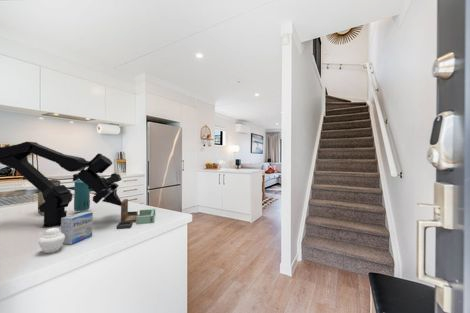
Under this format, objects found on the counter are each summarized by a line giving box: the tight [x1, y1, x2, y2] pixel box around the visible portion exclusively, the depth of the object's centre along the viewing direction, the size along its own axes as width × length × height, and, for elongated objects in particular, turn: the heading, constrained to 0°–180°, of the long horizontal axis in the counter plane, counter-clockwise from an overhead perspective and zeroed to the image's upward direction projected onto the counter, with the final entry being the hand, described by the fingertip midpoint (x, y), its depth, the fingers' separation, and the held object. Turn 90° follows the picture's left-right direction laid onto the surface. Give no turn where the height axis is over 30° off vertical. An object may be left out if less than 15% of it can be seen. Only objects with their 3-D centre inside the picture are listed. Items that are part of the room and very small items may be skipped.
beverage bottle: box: [73, 179, 91, 212], centre depth 102 cm, size 6×7×20 cm
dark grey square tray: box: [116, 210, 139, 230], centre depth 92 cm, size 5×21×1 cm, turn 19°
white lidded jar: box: [37, 227, 65, 254], centre depth 62 cm, size 6×6×7 cm
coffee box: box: [37, 178, 61, 217], centre depth 100 cm, size 9×6×16 cm
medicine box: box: [60, 211, 94, 246], centre depth 70 cm, size 8×4×9 cm, turn 168°
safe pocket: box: [135, 208, 156, 225], centre depth 94 cm, size 7×12×3 cm, turn 19°
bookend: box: [120, 198, 150, 223], centre depth 93 cm, size 11×7×9 cm, turn 109°
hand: (121, 205), depth 91 cm, fingers closed, pressing on bookend
